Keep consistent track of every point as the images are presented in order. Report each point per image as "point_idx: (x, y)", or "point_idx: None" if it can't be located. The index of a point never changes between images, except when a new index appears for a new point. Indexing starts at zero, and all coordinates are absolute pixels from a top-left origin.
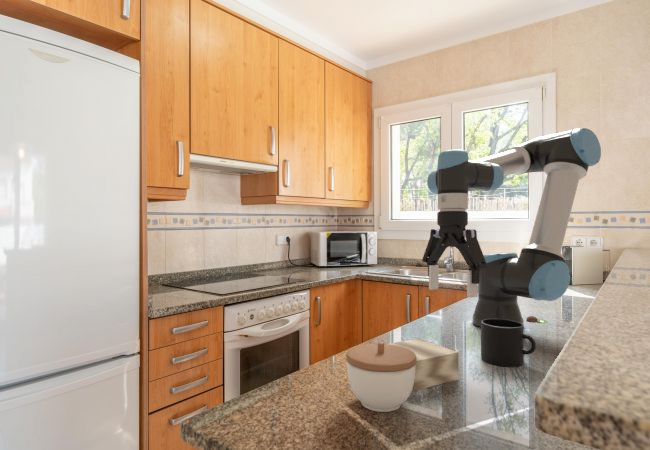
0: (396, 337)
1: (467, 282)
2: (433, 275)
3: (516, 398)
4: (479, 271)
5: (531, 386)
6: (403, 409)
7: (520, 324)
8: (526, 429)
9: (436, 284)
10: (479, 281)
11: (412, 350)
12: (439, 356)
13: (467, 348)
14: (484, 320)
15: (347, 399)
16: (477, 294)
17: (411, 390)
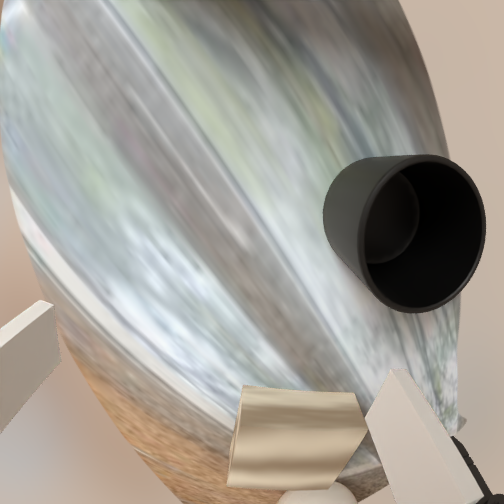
0: (59, 268)
1: (391, 481)
2: (7, 398)
3: (444, 374)
4: (490, 493)
5: (458, 316)
6: (340, 480)
7: (470, 188)
8: (455, 419)
9: (37, 335)
10: (462, 445)
11: (292, 473)
12: (348, 460)
13: (247, 186)
14: (364, 245)
15: (278, 499)
16: (411, 377)
17: (352, 493)
